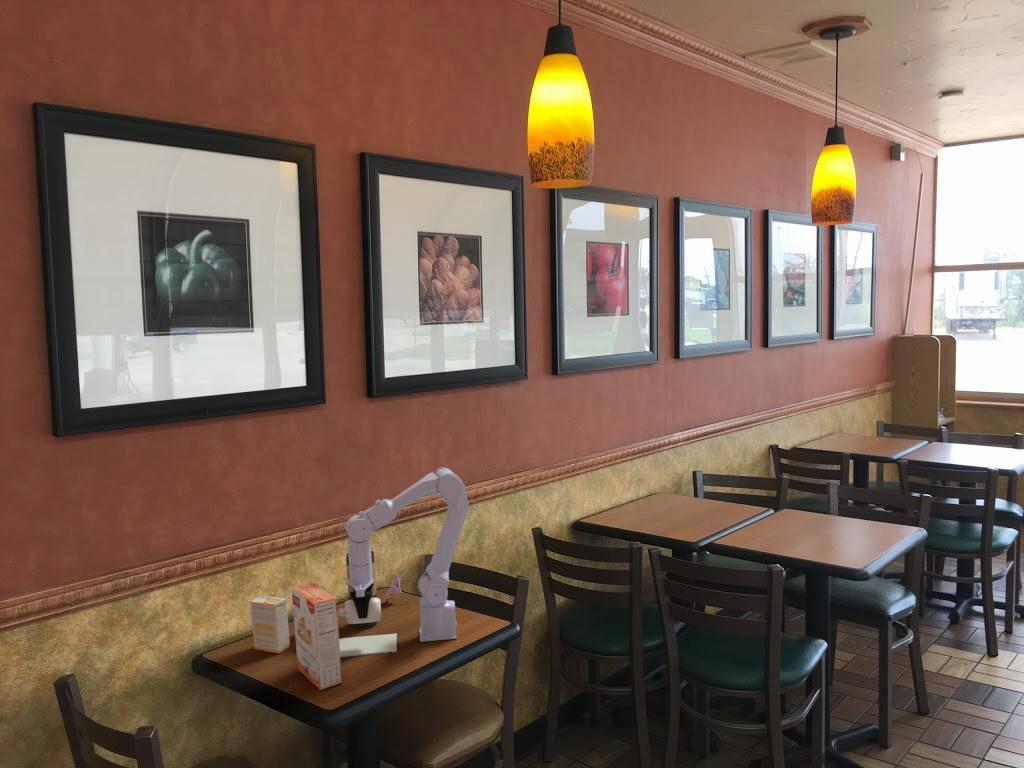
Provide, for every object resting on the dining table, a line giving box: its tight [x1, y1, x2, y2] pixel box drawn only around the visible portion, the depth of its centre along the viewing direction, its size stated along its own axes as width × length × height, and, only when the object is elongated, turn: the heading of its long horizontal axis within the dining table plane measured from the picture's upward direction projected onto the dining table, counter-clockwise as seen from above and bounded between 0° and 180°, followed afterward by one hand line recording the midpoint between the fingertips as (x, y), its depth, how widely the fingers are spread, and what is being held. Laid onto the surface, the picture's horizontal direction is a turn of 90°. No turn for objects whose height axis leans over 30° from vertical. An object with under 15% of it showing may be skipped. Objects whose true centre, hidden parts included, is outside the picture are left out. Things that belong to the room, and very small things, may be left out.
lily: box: [380, 569, 410, 604], centre depth 243 cm, size 12×12×10 cm
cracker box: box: [291, 582, 343, 691], centre depth 195 cm, size 14×6×21 cm, turn 35°
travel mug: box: [345, 550, 378, 630], centre depth 227 cm, size 8×8×20 cm
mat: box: [339, 632, 398, 658], centre depth 213 cm, size 16×11×1 cm
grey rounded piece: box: [337, 597, 382, 625], centre depth 212 cm, size 11×4×5 cm, turn 97°
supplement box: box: [249, 595, 291, 655], centre depth 213 cm, size 8×5×13 cm, turn 65°
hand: (363, 614), depth 212 cm, fingers closed on grey rounded piece, 4 cm apart
